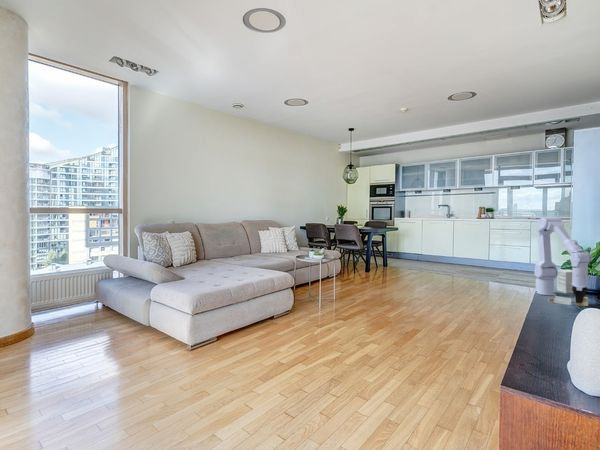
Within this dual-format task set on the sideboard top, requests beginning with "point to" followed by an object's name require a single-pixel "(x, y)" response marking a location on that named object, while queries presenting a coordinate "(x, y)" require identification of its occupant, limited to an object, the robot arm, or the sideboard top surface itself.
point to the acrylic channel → (563, 300)
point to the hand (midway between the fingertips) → (579, 301)
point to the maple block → (584, 303)
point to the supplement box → (564, 281)
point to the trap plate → (551, 300)
